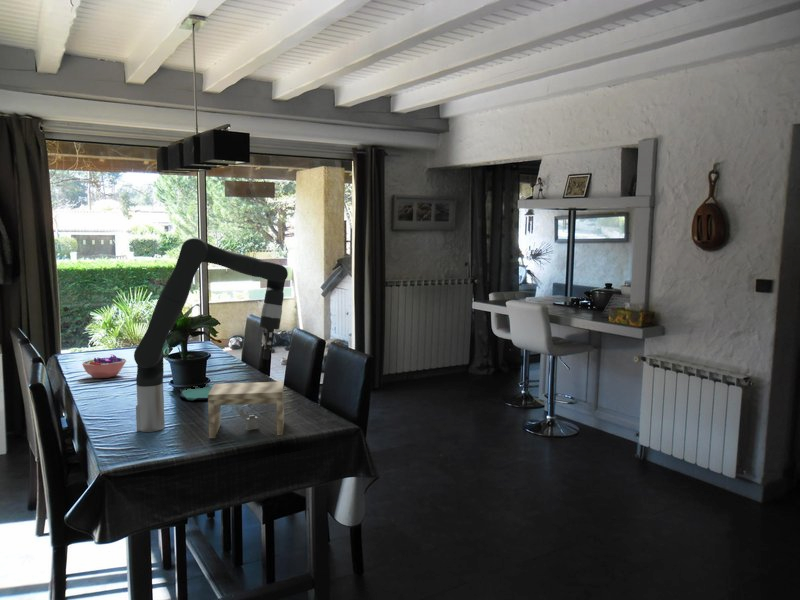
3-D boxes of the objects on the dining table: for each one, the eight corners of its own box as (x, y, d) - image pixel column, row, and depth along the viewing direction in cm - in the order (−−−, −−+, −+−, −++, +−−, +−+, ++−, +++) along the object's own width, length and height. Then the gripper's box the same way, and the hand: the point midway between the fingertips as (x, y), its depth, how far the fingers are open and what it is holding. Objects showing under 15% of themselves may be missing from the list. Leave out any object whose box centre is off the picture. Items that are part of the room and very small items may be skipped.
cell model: (83, 375, 314) (82, 353, 313) (126, 371, 322) (125, 350, 321) (82, 382, 299) (81, 360, 297) (127, 379, 307) (126, 356, 306)
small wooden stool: (209, 438, 220) (207, 394, 219) (215, 424, 236) (214, 383, 234) (282, 434, 224) (282, 392, 223) (284, 421, 240) (283, 381, 238)
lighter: (256, 427, 233) (256, 406, 232) (258, 428, 232) (257, 407, 231) (238, 430, 229) (237, 409, 228) (239, 431, 227) (239, 410, 227)
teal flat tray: (185, 405, 263) (185, 399, 263) (172, 389, 289) (172, 384, 289) (231, 399, 273) (231, 394, 273) (215, 384, 299) (215, 379, 299)
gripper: (259, 314, 241) (252, 355, 240) (263, 315, 227) (256, 358, 227) (278, 316, 243) (272, 357, 242) (283, 318, 230) (276, 361, 229)
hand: (264, 358), depth 234 cm, fingers open, 8 cm apart
